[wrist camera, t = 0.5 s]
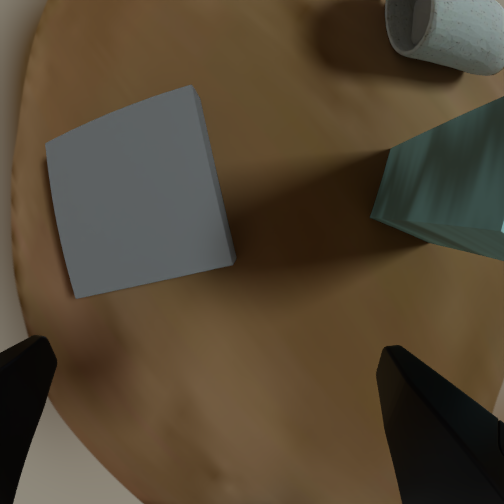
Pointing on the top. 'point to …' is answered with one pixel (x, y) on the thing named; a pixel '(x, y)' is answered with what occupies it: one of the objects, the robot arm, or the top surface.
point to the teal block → (450, 184)
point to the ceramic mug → (449, 33)
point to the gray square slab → (139, 196)
